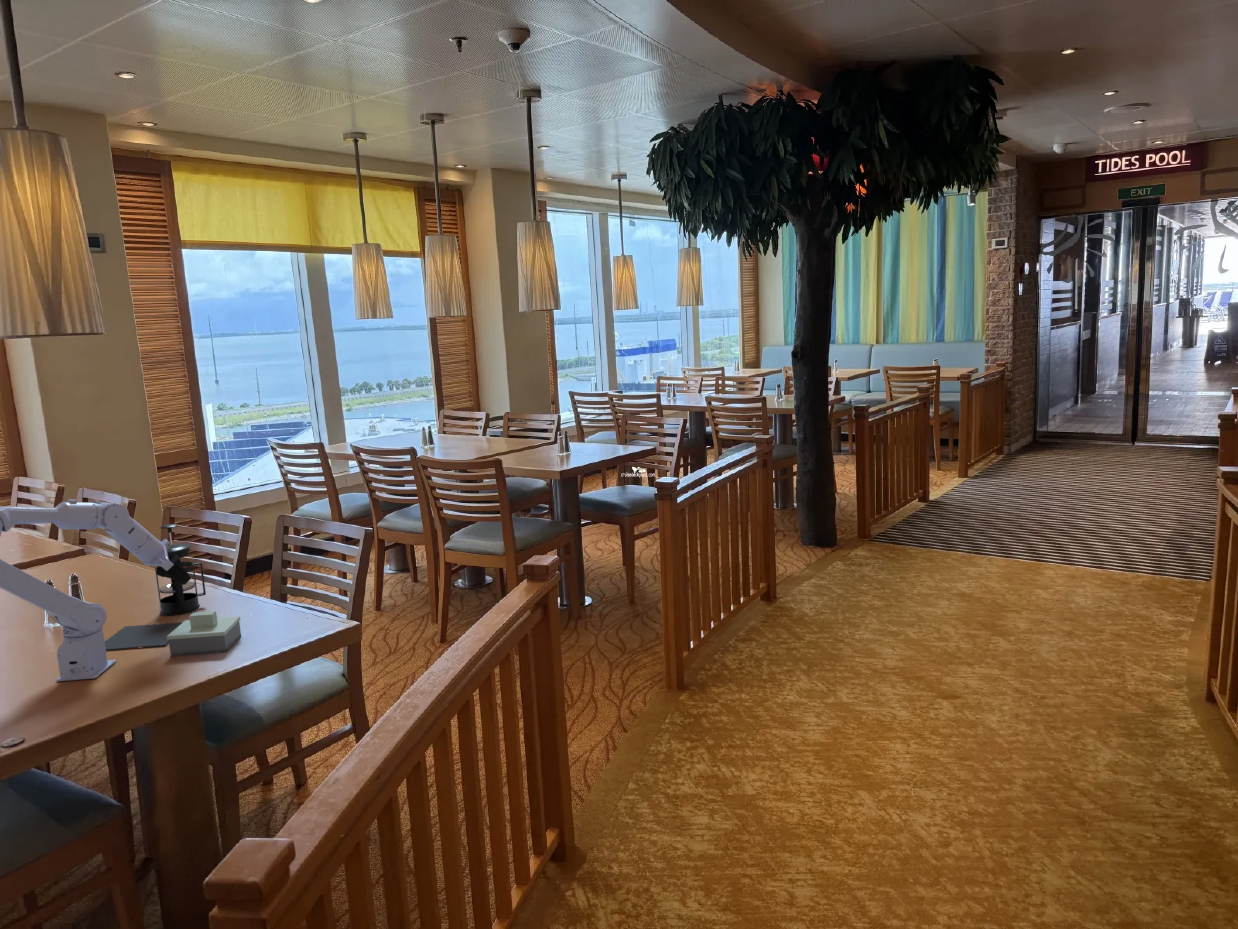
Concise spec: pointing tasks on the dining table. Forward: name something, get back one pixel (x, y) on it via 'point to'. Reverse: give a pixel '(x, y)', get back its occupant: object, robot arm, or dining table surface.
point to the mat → (141, 636)
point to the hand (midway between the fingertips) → (180, 576)
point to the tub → (205, 643)
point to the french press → (179, 600)
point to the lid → (204, 626)
